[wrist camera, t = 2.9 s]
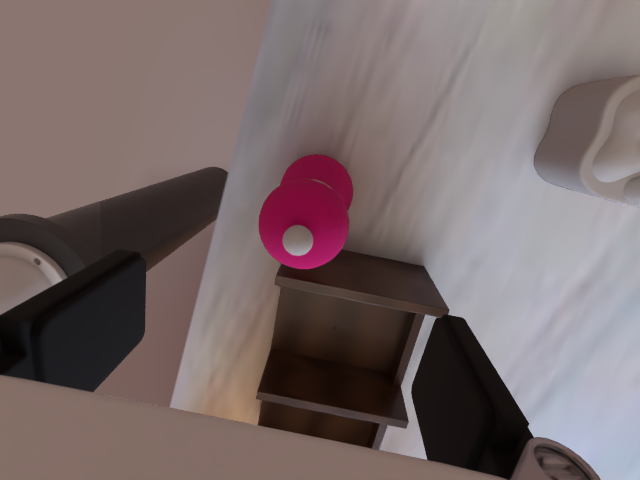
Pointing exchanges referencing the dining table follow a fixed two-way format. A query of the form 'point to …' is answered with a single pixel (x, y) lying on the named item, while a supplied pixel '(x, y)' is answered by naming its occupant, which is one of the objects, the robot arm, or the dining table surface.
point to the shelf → (345, 347)
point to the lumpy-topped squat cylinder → (595, 141)
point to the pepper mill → (307, 213)
